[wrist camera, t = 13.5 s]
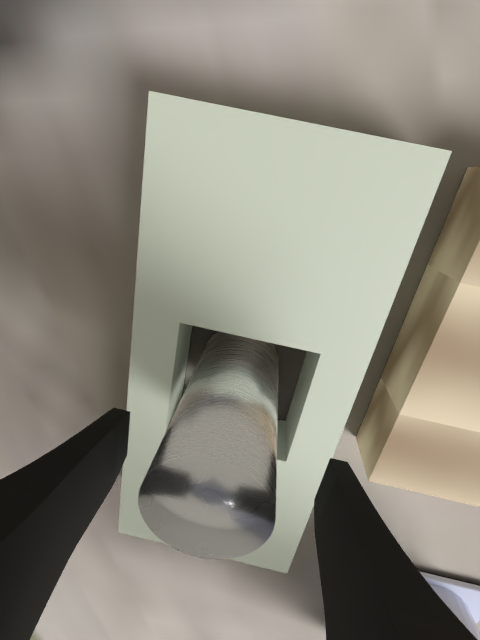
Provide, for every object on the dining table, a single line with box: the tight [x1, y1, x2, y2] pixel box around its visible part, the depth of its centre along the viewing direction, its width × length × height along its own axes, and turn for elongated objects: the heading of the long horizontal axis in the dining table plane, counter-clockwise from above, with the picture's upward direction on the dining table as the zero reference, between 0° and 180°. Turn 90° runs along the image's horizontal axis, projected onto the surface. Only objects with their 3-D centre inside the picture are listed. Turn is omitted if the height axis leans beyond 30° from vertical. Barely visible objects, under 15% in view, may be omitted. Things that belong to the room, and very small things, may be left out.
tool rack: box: [118, 91, 452, 574], centre depth 17 cm, size 22×10×3 cm, turn 169°
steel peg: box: [138, 331, 279, 559], centre depth 14 cm, size 4×4×9 cm
